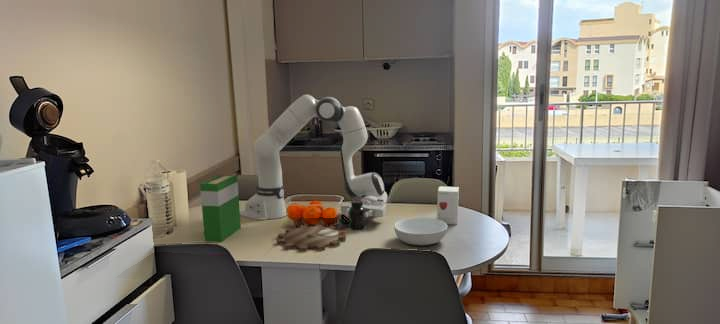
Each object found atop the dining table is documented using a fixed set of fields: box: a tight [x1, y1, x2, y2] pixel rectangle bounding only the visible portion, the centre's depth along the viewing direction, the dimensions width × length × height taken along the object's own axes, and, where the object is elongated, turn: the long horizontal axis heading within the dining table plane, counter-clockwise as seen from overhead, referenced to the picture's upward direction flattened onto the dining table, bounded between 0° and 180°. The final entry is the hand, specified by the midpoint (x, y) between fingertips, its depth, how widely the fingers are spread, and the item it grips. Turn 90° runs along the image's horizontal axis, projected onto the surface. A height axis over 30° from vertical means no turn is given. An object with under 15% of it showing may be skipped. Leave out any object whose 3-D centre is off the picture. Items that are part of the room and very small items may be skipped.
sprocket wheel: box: [276, 224, 347, 253], centre depth 200 cm, size 28×28×2 cm
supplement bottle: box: [348, 199, 366, 231], centre depth 211 cm, size 7×7×12 cm
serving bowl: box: [393, 217, 449, 246], centre depth 194 cm, size 21×21×7 cm
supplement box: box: [436, 186, 460, 225], centre depth 218 cm, size 9×9×15 cm
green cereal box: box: [199, 173, 242, 243], centre depth 205 cm, size 18×7×24 cm, turn 168°
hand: (356, 214), depth 210 cm, fingers closed on supplement bottle, 7 cm apart
